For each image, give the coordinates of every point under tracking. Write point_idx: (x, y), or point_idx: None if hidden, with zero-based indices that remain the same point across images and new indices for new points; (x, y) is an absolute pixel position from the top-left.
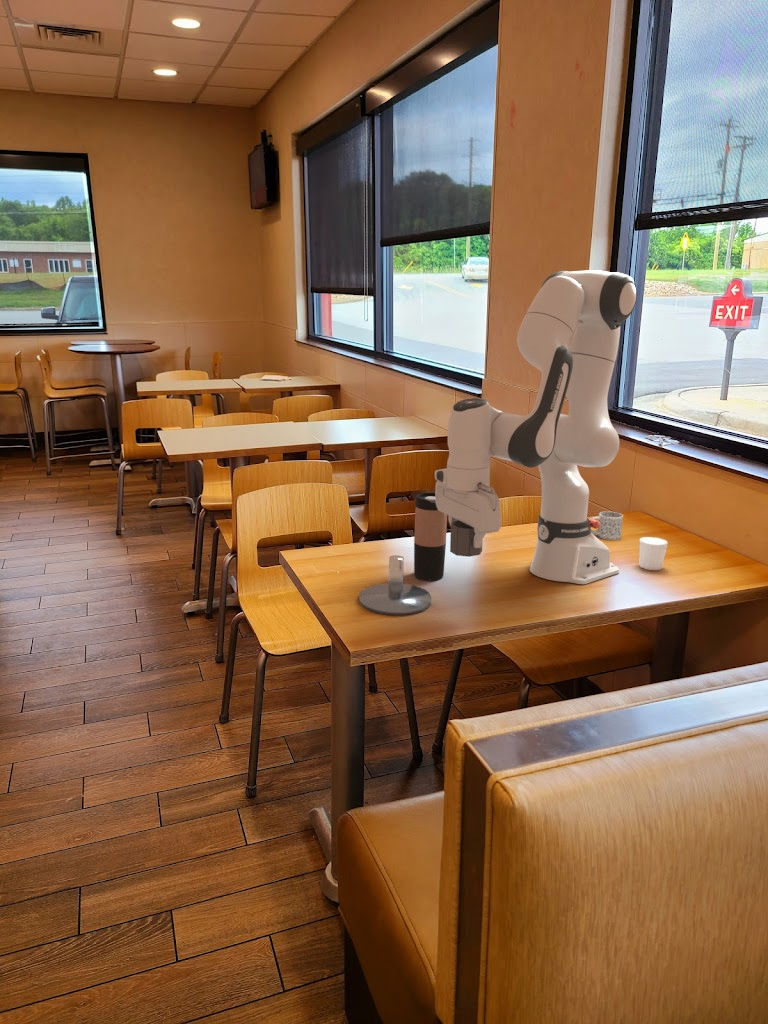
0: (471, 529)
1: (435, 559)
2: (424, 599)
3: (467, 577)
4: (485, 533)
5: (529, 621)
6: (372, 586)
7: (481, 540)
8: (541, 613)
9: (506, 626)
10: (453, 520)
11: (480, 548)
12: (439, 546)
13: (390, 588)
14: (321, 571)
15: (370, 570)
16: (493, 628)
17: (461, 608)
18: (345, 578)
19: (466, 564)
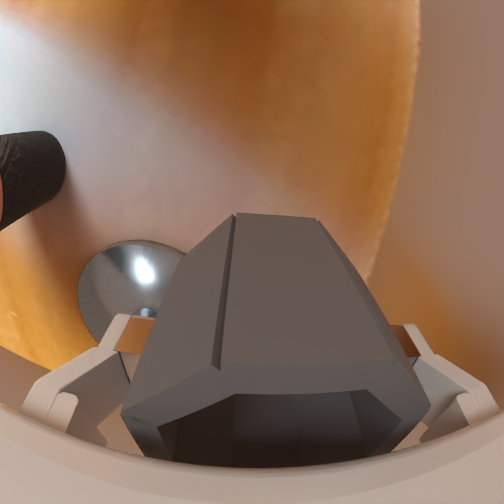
0: (390, 449)
1: (29, 183)
2: None
3: (78, 74)
4: (477, 382)
5: (403, 115)
6: (88, 327)
7: (427, 352)
8: (381, 54)
9: (395, 182)
10: (100, 432)
11: (361, 279)
12: (1, 180)
13: None
14: (14, 331)
15: (6, 265)
16: (386, 215)
17: (253, 207)
18: (36, 321)
19: (24, 49)
